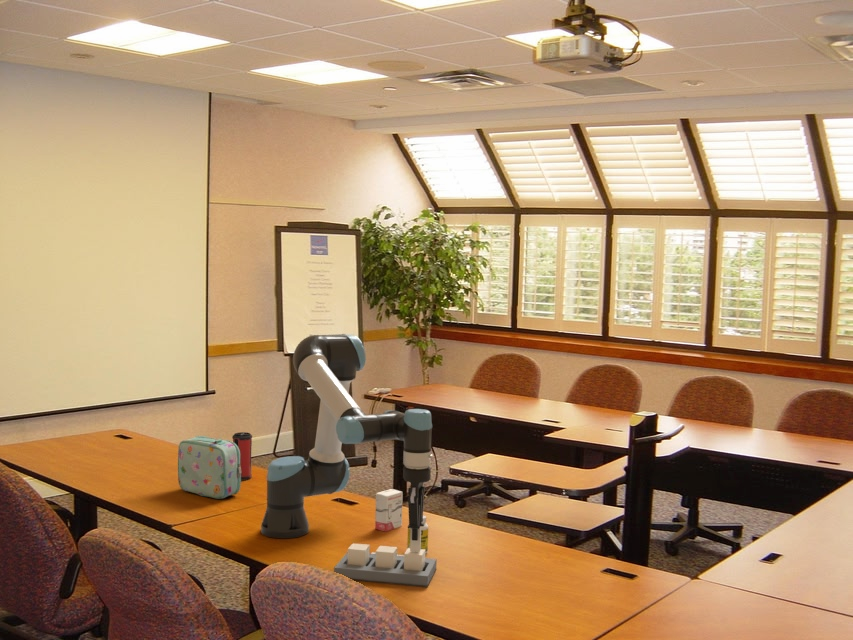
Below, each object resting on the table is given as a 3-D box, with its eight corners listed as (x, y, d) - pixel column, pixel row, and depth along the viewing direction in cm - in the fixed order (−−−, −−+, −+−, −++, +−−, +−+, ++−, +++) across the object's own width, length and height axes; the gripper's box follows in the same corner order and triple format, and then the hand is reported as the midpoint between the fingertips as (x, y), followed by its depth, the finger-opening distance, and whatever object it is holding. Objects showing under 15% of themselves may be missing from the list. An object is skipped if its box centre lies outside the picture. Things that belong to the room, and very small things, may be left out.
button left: (347, 564, 237) (347, 548, 237) (352, 558, 242) (352, 543, 242) (364, 566, 236) (365, 550, 236) (369, 560, 241) (369, 544, 241)
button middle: (375, 567, 236) (375, 551, 236) (379, 561, 241) (380, 545, 241) (393, 568, 235) (393, 552, 235) (397, 562, 240) (397, 547, 240)
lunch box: (246, 496, 314) (247, 439, 313) (225, 503, 305) (226, 443, 304) (195, 485, 328) (196, 430, 327) (174, 491, 319) (175, 434, 318)
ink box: (385, 532, 276) (386, 496, 275) (374, 529, 279) (374, 493, 278) (402, 526, 283) (403, 491, 282) (391, 523, 286) (392, 488, 285)
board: (333, 578, 234) (334, 567, 233) (347, 561, 247) (348, 551, 247) (427, 587, 229) (427, 576, 229) (436, 569, 243) (436, 559, 242)
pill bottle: (412, 557, 253) (413, 520, 252) (403, 550, 258) (404, 514, 257) (431, 554, 256) (432, 518, 255) (421, 548, 261) (422, 512, 260)
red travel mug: (249, 481, 337) (249, 435, 336) (229, 480, 337) (230, 435, 336) (253, 476, 345) (254, 432, 344) (234, 475, 345) (235, 431, 344)
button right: (403, 569, 234) (404, 553, 234) (407, 563, 239) (407, 548, 239) (421, 571, 234) (422, 555, 233) (425, 565, 238) (425, 549, 238)
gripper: (426, 472, 228) (424, 559, 229) (434, 461, 241) (432, 544, 242) (398, 470, 229) (397, 557, 230) (408, 460, 242) (406, 542, 243)
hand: (415, 550), depth 236 cm, fingers closed
